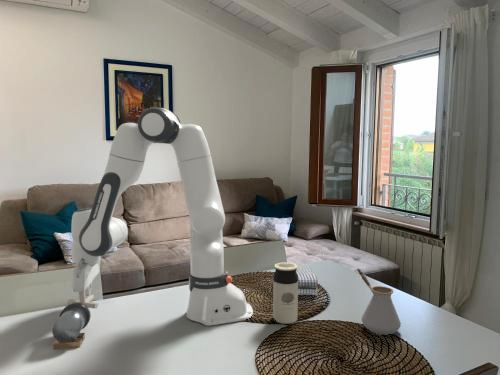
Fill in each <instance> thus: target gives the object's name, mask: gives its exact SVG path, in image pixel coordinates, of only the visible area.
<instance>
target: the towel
mask: <svg viewBox="0 0 500 375" xmlns="http://www.w3.org/2000/svg"><path fill="white" fill-rule="evenodd" d="M296 273H297V275H298V295H317V296H318V287H319V282H318V278H317V275H316V274H315V273H314V272H313V270H312V269H311V268H297V269H296Z"/></svg>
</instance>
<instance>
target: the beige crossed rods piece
mask: <svg viewBox="0 0 500 375" xmlns="http://www.w3.org/2000/svg"><path fill="white" fill-rule="evenodd" d="M78 298H79V299H71V298H70V299H68V300H67V305H69V304H71V303H75V302H78V303H82V304H84V305H86V306H87V307H88V309H98V307H99V303H98V302H94V301H93V300H95V295H94V294H92V293H90V295H89V296H85V291H83V292H78ZM92 301H93V302H92Z"/></svg>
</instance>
